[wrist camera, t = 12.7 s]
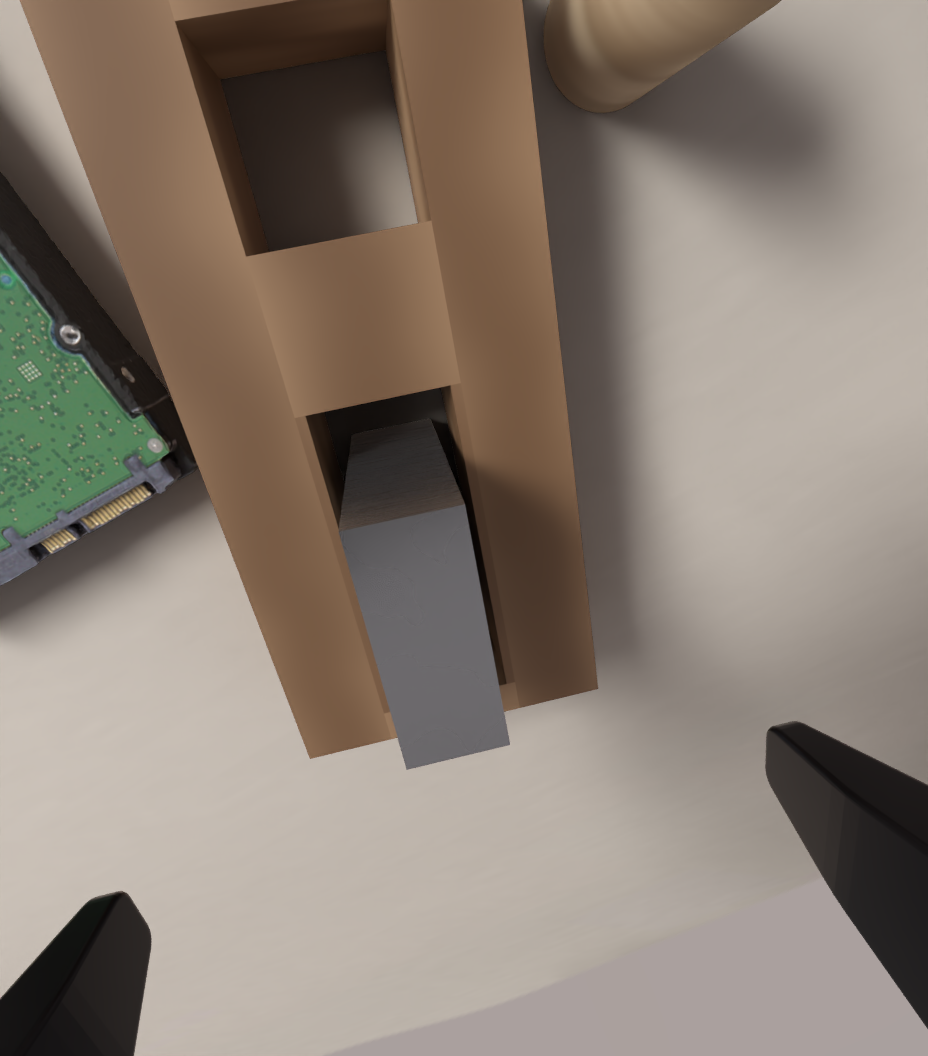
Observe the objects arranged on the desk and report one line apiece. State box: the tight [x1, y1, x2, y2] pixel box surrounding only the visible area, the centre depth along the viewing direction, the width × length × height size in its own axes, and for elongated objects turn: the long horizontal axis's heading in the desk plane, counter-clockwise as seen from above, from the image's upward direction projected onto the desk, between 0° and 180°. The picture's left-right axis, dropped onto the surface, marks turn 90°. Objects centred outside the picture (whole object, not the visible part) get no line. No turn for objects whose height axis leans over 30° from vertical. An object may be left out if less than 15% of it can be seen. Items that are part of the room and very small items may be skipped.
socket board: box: [20, 0, 598, 759], centre depth 16 cm, size 9×19×4 cm, turn 11°
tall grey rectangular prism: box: [338, 418, 510, 770], centre depth 16 cm, size 2×6×8 cm, turn 10°
